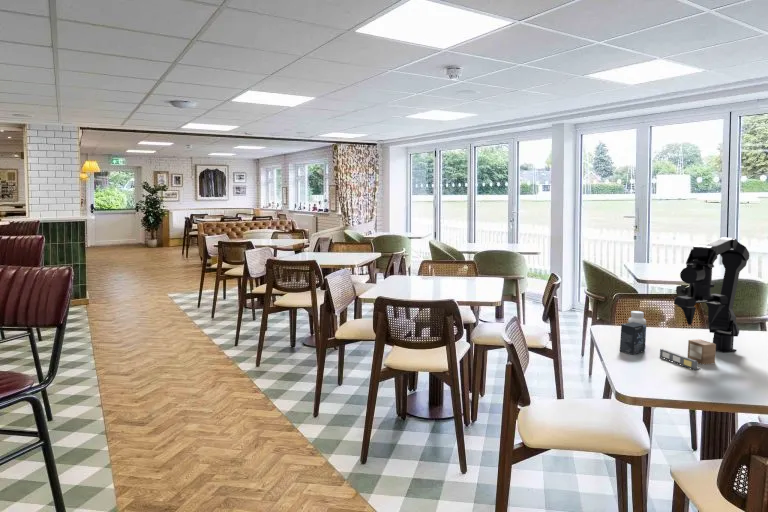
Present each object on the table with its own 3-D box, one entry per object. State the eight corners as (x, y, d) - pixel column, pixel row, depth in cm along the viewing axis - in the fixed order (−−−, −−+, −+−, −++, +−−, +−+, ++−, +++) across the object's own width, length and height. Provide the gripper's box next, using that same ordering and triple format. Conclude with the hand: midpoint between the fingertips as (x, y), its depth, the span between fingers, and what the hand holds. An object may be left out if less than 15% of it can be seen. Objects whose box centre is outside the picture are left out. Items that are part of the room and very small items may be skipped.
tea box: (714, 363, 199) (716, 344, 198) (702, 364, 198) (704, 345, 197) (698, 358, 206) (700, 339, 205) (687, 359, 204) (688, 340, 203)
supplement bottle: (644, 342, 227) (646, 311, 225) (646, 346, 221) (647, 314, 219) (626, 341, 229) (627, 309, 228) (627, 345, 223) (629, 313, 221)
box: (633, 354, 209) (634, 326, 208) (619, 351, 214) (620, 323, 213) (645, 351, 214) (646, 324, 212) (631, 348, 218) (633, 321, 217)
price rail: (659, 357, 206) (659, 349, 206) (665, 356, 207) (665, 348, 207) (694, 370, 191) (694, 361, 191) (700, 369, 192) (700, 360, 191)
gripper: (704, 276, 212) (702, 317, 214) (663, 278, 207) (661, 320, 209) (730, 280, 201) (727, 323, 203) (687, 283, 196) (685, 327, 198)
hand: (699, 323), depth 204 cm, fingers open, 9 cm apart
